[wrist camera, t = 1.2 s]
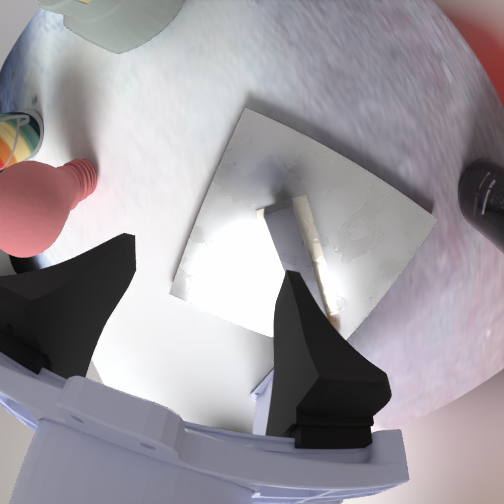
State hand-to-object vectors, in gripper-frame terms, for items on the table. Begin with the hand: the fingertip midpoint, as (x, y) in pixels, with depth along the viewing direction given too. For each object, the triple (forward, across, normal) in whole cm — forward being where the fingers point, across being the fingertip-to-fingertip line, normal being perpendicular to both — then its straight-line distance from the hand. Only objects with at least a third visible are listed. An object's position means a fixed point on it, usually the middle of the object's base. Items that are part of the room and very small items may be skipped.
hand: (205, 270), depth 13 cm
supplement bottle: (+11, -22, -7) cm, 25 cm away
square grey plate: (+11, -6, +4) cm, 13 cm away
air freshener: (+13, +12, -15) cm, 23 cm away
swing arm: (+8, -8, +6) cm, 13 cm away
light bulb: (+12, +15, +2) cm, 19 cm away
